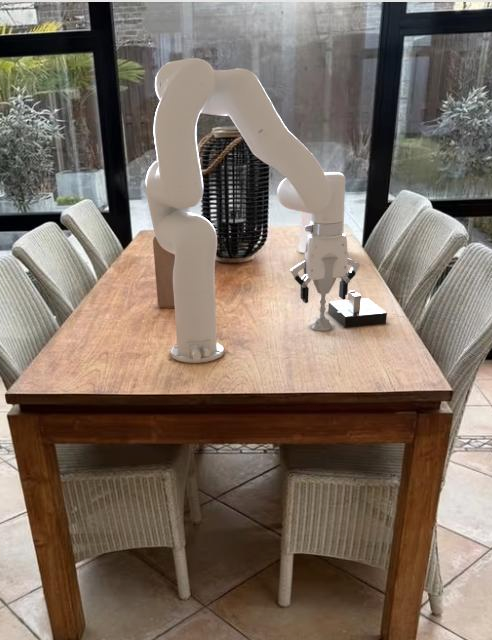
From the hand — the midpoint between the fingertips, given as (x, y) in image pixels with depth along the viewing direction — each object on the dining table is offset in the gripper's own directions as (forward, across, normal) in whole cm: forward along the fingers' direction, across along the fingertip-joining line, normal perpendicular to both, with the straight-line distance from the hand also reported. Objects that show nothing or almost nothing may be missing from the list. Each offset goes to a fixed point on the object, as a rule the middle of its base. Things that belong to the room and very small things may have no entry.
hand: (323, 299), depth 166 cm
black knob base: (+7, +11, +5) cm, 14 cm away
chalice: (+7, 0, 0) cm, 7 cm away
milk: (+8, +26, +86) cm, 90 cm away
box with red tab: (+4, +9, +2) cm, 10 cm away
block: (+7, -34, +33) cm, 48 cm away
